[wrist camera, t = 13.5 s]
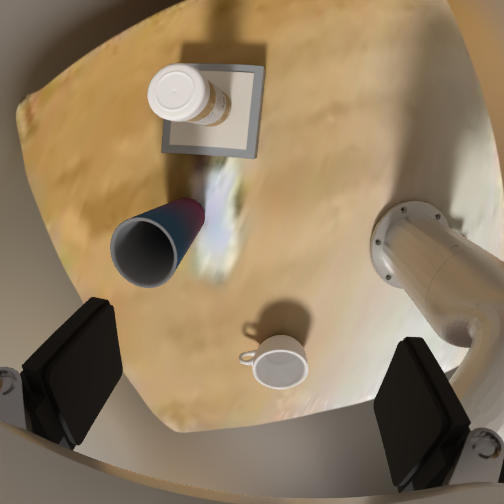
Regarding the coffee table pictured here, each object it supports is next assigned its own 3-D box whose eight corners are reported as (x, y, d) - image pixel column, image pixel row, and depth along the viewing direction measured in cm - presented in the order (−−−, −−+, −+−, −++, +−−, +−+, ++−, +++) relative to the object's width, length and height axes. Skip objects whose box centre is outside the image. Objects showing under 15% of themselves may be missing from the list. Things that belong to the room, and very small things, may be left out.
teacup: (309, 329, 46) (312, 350, 41) (302, 368, 49) (304, 390, 43) (242, 324, 47) (238, 345, 42) (240, 363, 49) (236, 385, 44)
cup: (170, 184, 40) (117, 206, 26) (218, 201, 41) (186, 232, 27) (157, 230, 43) (105, 272, 29) (202, 247, 43) (167, 298, 29)
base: (265, 73, 35) (263, 65, 31) (256, 157, 39) (254, 159, 35) (180, 70, 35) (169, 63, 31) (172, 151, 39) (160, 152, 35)
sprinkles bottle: (194, 88, 32) (148, 63, 20) (234, 90, 32) (207, 61, 19) (191, 126, 34) (143, 120, 21) (230, 128, 34) (201, 121, 21)
